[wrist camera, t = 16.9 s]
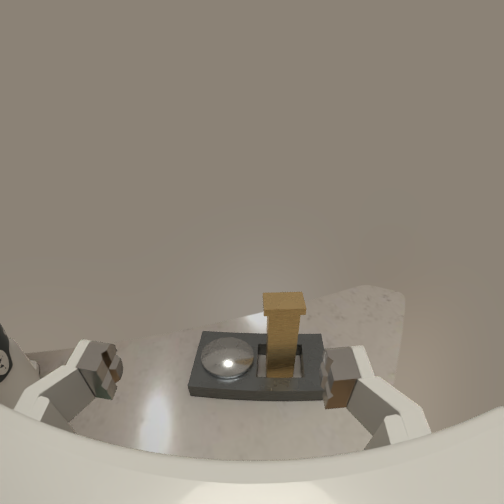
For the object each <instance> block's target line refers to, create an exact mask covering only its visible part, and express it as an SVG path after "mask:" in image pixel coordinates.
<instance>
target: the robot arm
mask: <svg viewBox="0 0 504 504" xmlns="http://www.w3.org/2000/svg"><path fill="white" fill-rule="evenodd" d="M116 352H117V349H116V347H115V345H114V344H110V343H103V342H97V341H89V340H83V339H82V340H81V341H79V343H78V345H77V346H76V348H75V350H74V351H73V353H72V355H71V357H70V358H69V360H68V362H67V364H66V365H65V366H64V365H62V366H61V367H59V368H57V369H56V370H54V371H53V372H51V373H50V374H48V375H46V376H45V377H43V378H42V379H41V378H40V376H39V365H38V364H37V362H36V361H34V360H29V359H28V358H27V356H26V355H25V354H24V352H23V351H22V349H21V348H20V346H19V345H18V343H17V342H16V341H15V340H14V339H13V338H12V339H11V338H8V337H7V335H6V333H5V330H4V328H3V327H2V325H1V324H0V504H504V407H502V406H501V407H497V408H495V409H492V410H490V411H488V412H486V413H484V414H481V415H479V416H477V417H474V418H472V419H469V420H467V421H464V422H462V423H460V424H457V425H454V426H451V427H448V428H445V429H443V430H440V431H437V432H434V433H431V430H430V428H429V425H428V423H427V420H426V418H425V415H424V413H423V410H422V408H421V407H420V406H419V405H417V404H416V403H415V402H413V401H412V400H411V399H409V398H408V397H406V396H405V395H404V394H402V393H401V392H399V391H398V390H397V389H396V388H394V387H393V386H392V385H390V384H389V383H388V382H386V381H385V380H383V379H382V378H381V377H379V376H375V374H374V371H373V369H372V366H371V363H370V361H369V358H368V356H367V353H366V351H365V348H364V346H362V345H361V346H351V347H339V348H328V349H324V351H323V355H322V357H323V362H322V363H321V364H320V369H319V379H320V385H321V387H322V388H323V389H324V391H323V395H322V396H323V401H324V406H325V409H333V408H344V407H347V410H348V411H349V412H350V413H351V414H352V415H353V416H354V417H355V418H356V419H357V420H358V421H359V422H360V423H361V424H362V425H363V426H364V427H365V428H366V429H367V430H368V431H369V432H370V434H371V435H372V436H373V437H372V438H371V440H370V441H369V443H368V444H367V446H366V447H365V448H364V450H363V451H357V452H351V453H345V454H339V455H331V456H323V457H314V458H303V459H289V460H261V461H245V460H217V459H203V458H192V457H183V456H175V455H167V454H160V453H154V452H148V451H143V450H138V449H133V448H128V447H123V446H119V445H114V444H110V443H106V442H102V441H99V440H95V439H91V438H88V437H84V436H81V435H78V434H75V430H74V429H73V428H72V427H71V426H70V424H69V423H68V422H70V421H71V420H72V419H73V418H74V417H75V416H76V415H77V414H78V413H79V412H81V411H82V410H83V409H84V408H85V407H86V406H87V405H88V404H89V403H90V402H92V401H93V400H94V399H95V397H99V398H104V399H110V400H113V397H114V395H115V392H116V390H117V386H116V382H118V381H119V380H120V379H121V377H122V373H123V364H122V361H121V358H120V357H118V356H117V355H116Z"/></svg>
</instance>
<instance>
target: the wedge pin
mask: <svg viewBox="0 0 504 504" xmlns="http://www.w3.org/2000/svg"><path fill="white" fill-rule="evenodd" d="M263 308H264V316H267V341H266V375H267V378H289V377H293V371H294V363H295V356H296V348H297V340H298V331H299V322H300V315H306V305H305V302H304V298H303V294H302V292H280V293H263Z"/></svg>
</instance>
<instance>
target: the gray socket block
mask: <svg viewBox="0 0 504 504" xmlns="http://www.w3.org/2000/svg"><path fill="white" fill-rule="evenodd" d="M266 341H267V334H256V333H228V332H209V331H203V332H202V336H201V339H200V343H199V346H198V350H197V354H196V357H195V361H194V365H193V368H192V372H191V376H190V380H189V383H188V388H189V392H190V395H191V396H199V397H210V398H222V399H237V400H260V401H307V400H323V396H322V395H323V391H324V389H323V388H322V387H321V385H320V379H319V369H320V364H321V363H322V362H323V357H322V355H323V351H324V347H323V342H322V336H321V334H298V340H297V348H296V355H300V358H301V370H302V378H266V377H257V364H258V354H263V355H266Z"/></svg>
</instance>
